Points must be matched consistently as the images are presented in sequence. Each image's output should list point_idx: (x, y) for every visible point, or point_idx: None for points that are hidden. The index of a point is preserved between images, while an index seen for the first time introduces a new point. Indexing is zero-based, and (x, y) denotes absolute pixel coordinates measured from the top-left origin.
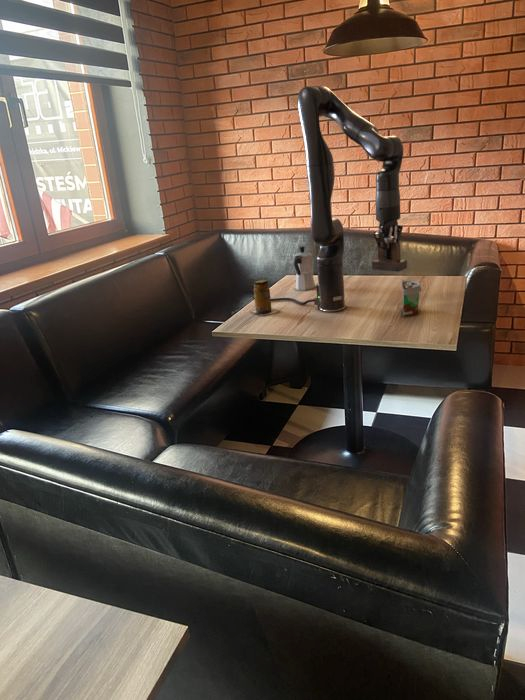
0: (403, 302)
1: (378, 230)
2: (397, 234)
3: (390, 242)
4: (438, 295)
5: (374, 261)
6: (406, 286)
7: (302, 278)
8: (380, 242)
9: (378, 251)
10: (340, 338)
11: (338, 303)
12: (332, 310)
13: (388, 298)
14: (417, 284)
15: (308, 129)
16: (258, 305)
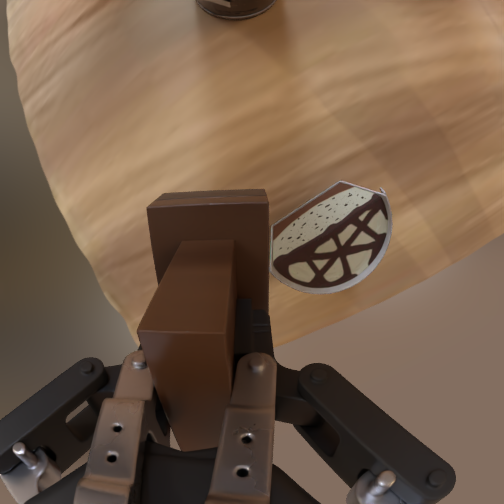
0: (290, 230)
1: (11, 491)
2: (337, 465)
3: (190, 430)
4: (468, 210)
5: (150, 229)
6: (331, 244)
7: None
8: (147, 360)
9: (165, 279)
10: (52, 192)
11: (219, 7)
12: (201, 7)
13: (413, 88)
14: (372, 261)
15: None
16: None
